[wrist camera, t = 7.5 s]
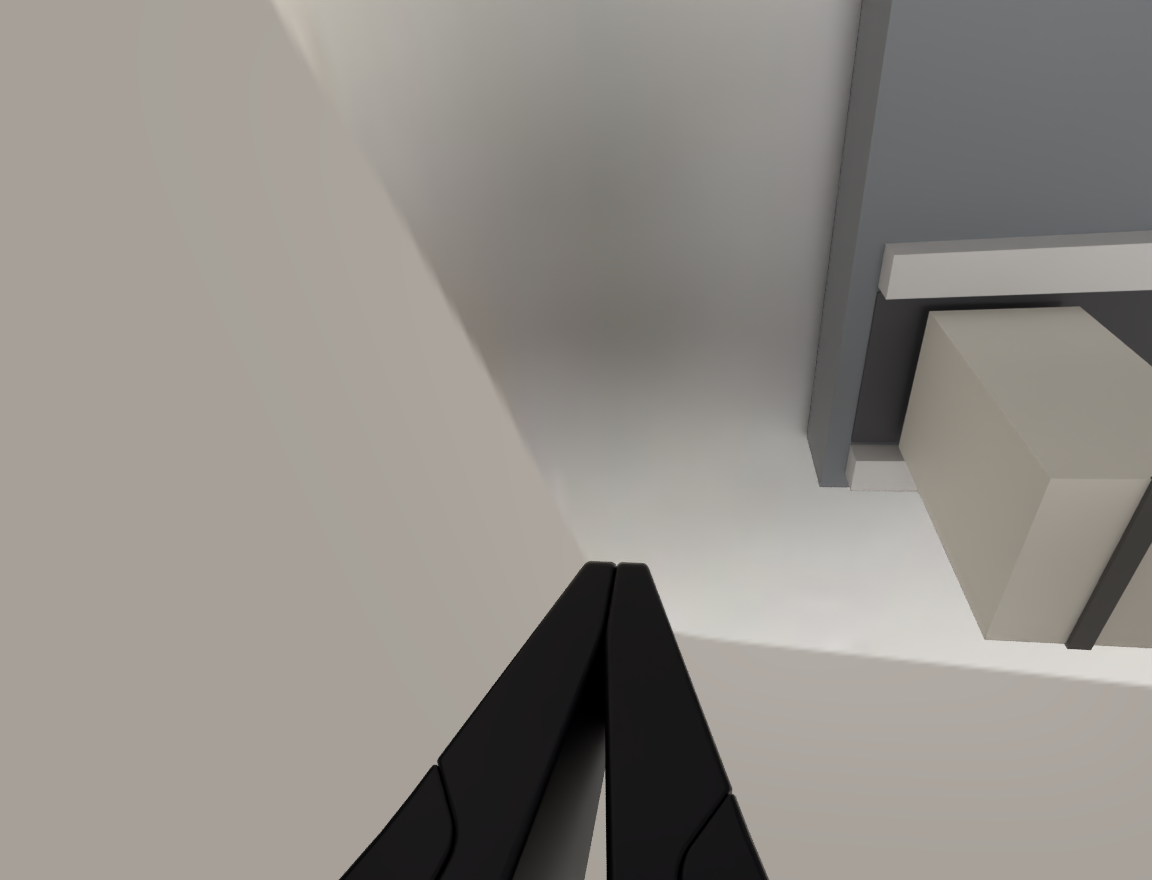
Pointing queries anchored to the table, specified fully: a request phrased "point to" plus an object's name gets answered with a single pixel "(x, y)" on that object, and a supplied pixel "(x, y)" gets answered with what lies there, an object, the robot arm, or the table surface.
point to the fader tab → (1038, 472)
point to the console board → (978, 197)
